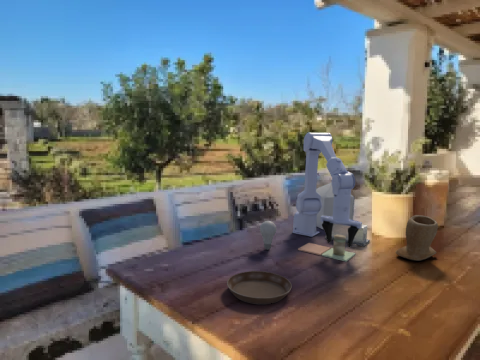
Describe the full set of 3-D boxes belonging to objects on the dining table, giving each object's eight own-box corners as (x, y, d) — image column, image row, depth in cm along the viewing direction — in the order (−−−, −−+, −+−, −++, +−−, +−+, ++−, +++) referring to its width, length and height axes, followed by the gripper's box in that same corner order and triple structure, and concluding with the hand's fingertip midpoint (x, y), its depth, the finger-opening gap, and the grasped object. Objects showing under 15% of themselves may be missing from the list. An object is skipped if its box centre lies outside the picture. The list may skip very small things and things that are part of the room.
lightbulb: (274, 253, 130) (275, 223, 128) (258, 251, 131) (258, 222, 130) (276, 247, 136) (277, 219, 134) (260, 246, 137) (261, 218, 135)
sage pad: (321, 255, 128) (321, 254, 128) (331, 249, 135) (331, 247, 135) (346, 261, 123) (346, 260, 123) (355, 254, 130) (355, 253, 130)
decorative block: (306, 220, 177) (308, 180, 174) (334, 219, 181) (336, 180, 178) (323, 229, 161) (325, 186, 159) (353, 227, 166) (356, 185, 163)
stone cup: (423, 266, 119) (427, 223, 117) (390, 256, 129) (393, 215, 127) (445, 258, 128) (450, 217, 126) (413, 248, 138) (417, 210, 135)
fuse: (331, 254, 128) (332, 236, 128) (335, 251, 132) (336, 233, 131) (342, 256, 126) (343, 238, 125) (346, 253, 129) (347, 236, 128)
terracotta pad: (298, 250, 134) (298, 248, 134) (308, 244, 141) (308, 242, 141) (320, 255, 128) (320, 254, 128) (330, 248, 135) (330, 247, 135)
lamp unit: (325, 238, 148) (326, 222, 147) (331, 234, 154) (332, 218, 153) (363, 246, 139) (365, 229, 138) (369, 242, 144) (370, 225, 143)
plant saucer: (252, 274, 111) (253, 265, 111) (303, 291, 100) (303, 281, 100) (213, 294, 98) (213, 283, 97) (266, 316, 87) (267, 305, 86)
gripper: (317, 205, 128) (315, 242, 130) (358, 212, 119) (355, 251, 121) (325, 202, 133) (323, 238, 135) (365, 208, 125) (362, 246, 127)
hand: (339, 244), depth 128 cm, fingers open, 7 cm apart
